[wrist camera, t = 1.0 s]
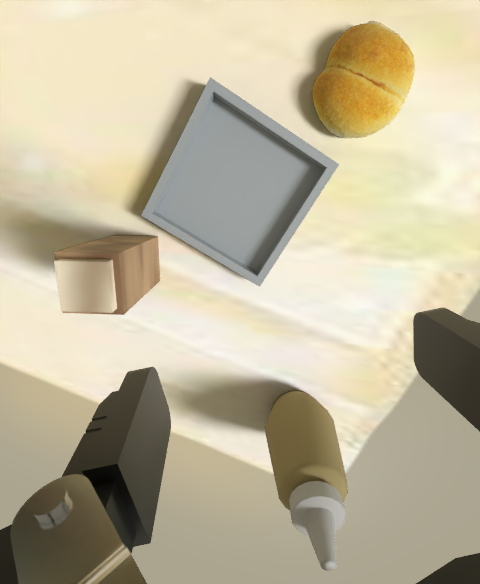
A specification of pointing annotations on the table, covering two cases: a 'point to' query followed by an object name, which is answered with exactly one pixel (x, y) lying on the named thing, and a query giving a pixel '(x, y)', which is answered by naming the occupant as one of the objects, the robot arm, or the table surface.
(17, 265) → the table surface
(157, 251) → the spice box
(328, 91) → the bread roll
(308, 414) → the squeeze bottle
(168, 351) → the table surface
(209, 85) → the tray
